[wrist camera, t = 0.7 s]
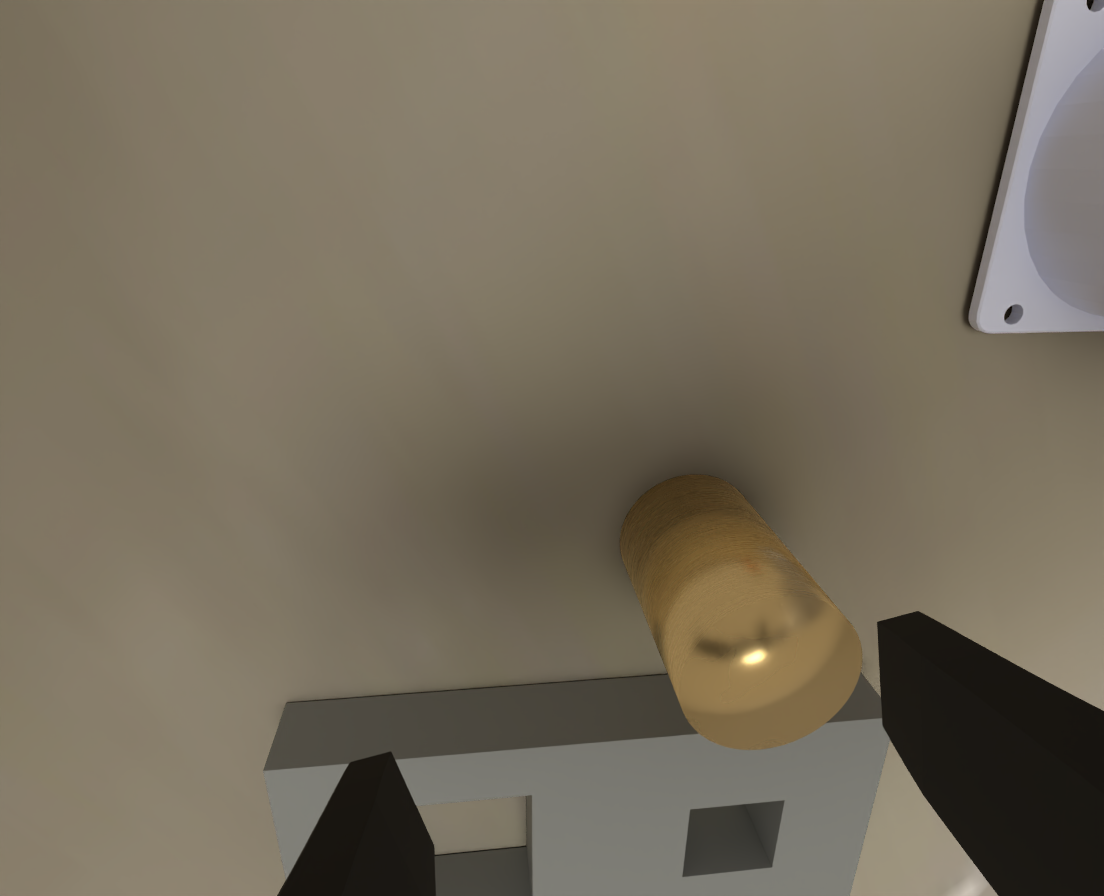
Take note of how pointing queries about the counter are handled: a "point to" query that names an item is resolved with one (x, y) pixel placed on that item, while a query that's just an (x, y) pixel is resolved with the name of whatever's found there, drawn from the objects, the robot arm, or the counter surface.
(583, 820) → the header block
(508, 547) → the counter surface
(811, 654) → the gold cylinder
